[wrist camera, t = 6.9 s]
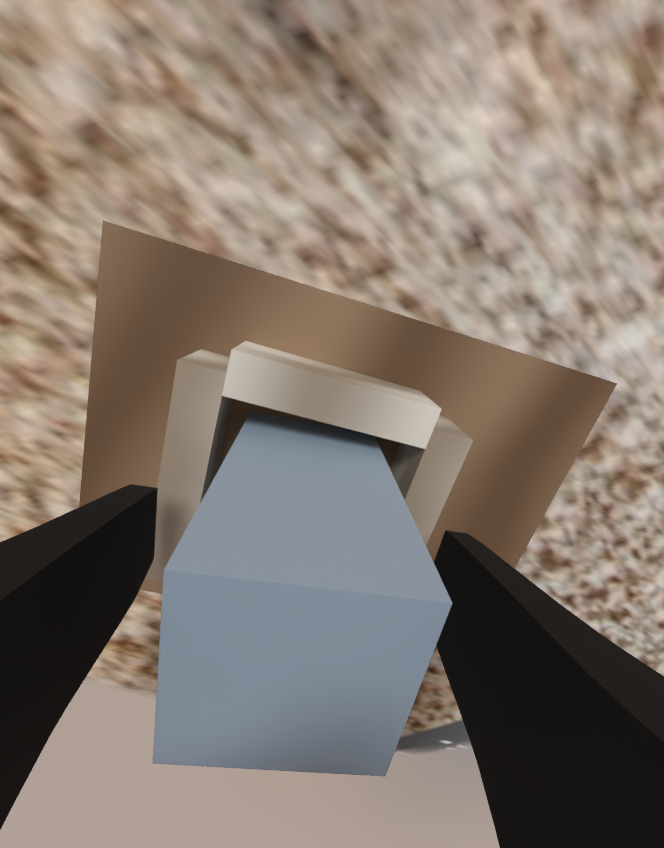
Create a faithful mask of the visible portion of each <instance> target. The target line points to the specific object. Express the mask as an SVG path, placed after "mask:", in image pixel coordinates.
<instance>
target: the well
mask: <svg viewBox="0 0 664 848" xmlns="http://www.w3.org/2000/svg"><path fill="white" fill-rule="evenodd" d="M616 385H617V383H614V382H611V381H607V380H604V379H601V378H598V377H595V376H592V375H588V374H585V373H582V372H579V371H576V370H573V369H570V368H566V367H563V366H560V365H557V364H554V363H551V362H547V361H544V360H541V359H538V358H535V357H532V356H529V355H525V354H522V353H519V352H516V351H513V350H510V349H506V348H503V347H500V346H497V345H494V344H491V343H488V342H484V341H481V340H478V339H475V338H472V337H469V336H465V335H462V334H459V333H456V332H453V331H450V330H447V329H443V328H440V327H437V326H434V325H431V324H428V323H424V322H421V321H418V320H415V319H412V318H409V317H406V316H402V315H399V314H396V313H393V312H390V311H387V310H383V309H380V308H377V307H374V306H371V305H368V304H365V303H361V302H358V301H355V300H352V299H349V298H346V297H342V296H339V295H336V294H333V293H330V292H327V291H324V290H320V289H317V288H314V287H311V286H308V285H305V284H301V283H298V282H295V281H292V280H289V279H286V278H283V277H279V276H276V275H273V274H270V273H267V272H264V271H260V270H257V269H254V268H251V267H248V266H245V265H242V264H238V263H235V262H232V261H229V260H226V259H223V258H219V257H216V256H213V255H210V254H207V253H204V252H201V251H197V250H194V249H191V248H188V247H185V246H182V245H179V244H175V243H172V242H169V241H166V240H163V239H160V238H156V237H153V236H150V235H147V234H144V233H141V232H138V231H134V230H131V229H128V228H125V227H122V226H119V225H115V224H112V223H109V222H106V221H103V227H102V239H101V251H100V263H99V275H98V287H97V299H96V311H95V323H94V335H93V347H92V359H91V371H90V383H89V396H88V408H87V420H86V432H85V444H84V456H83V468H82V480H81V492H80V504H79V507H81V506H83V505H85V504H88V503H90V502H92V501H94V500H96V499H98V498H100V497H102V496H105V495H107V494H109V493H111V492H113V491H116V490H118V489H120V488H122V487H125V486H127V485H130V484H134V485H140V486H147V487H154V488H158V493H157V512H156V532H155V551H154V560H153V562H152V564H151V566H150V568H149V571H148V573H147V575H146V577H145V579H144V581H143V583H142V585H141V587H140V590H146V591H151V592H157V593H162V594H163V577H164V569H165V567H166V565H167V563H168V561H169V560H170V558H171V556H172V554H173V552H174V550H175V549H176V547H177V545H178V543H179V541H180V540H181V538H182V536H183V534H184V532H185V530H186V529H187V527H188V525H189V523H190V521H191V520H192V518H193V516H194V514H195V512H196V510H197V509H198V507H199V505H200V503H201V501H202V499H203V498H204V496H205V494H206V492H207V490H208V489H209V487H210V485H211V483H212V481H213V479H214V478H215V476H216V474H217V472H218V470H219V468H220V467H221V465H222V463H223V461H224V459H225V458H226V456H227V454H228V452H229V450H230V448H231V447H232V445H233V443H234V441H235V439H236V438H237V436H238V434H239V432H240V430H241V428H242V427H243V425H244V423H245V421H246V419H247V417H248V416H249V414H250V412H256V413H262V414H268V415H274V416H280V417H286V418H292V419H298V420H304V421H309V422H315V423H321V424H327V425H333V426H339V427H343V428H347V429H351V430H354V431H358V432H362V433H366V434H370V435H373V436H375V438H376V440H377V442H378V444H379V446H380V449H381V451H382V453H383V455H384V457H385V459H386V461H387V464H388V466H389V468H390V470H391V472H392V474H393V476H394V479H395V481H396V483H397V485H398V487H399V489H400V492H401V494H402V496H403V498H404V500H405V502H406V504H407V507H408V509H409V511H410V513H411V515H412V517H413V519H414V522H415V524H416V526H417V528H418V530H419V532H420V534H421V537H422V539H423V541H424V543H425V545H426V547H427V549H428V552H429V554H430V556H431V558H432V560H433V562H434V560H435V558H436V555H437V552H438V549H439V546H440V544H441V541H442V538H443V535H444V532H445V530H448V531H454V532H461V533H468V534H469V535H471V536H472V537H474V538H475V539H477V540H478V541H480V542H481V543H482V544H484V545H485V546H486V547H488V548H489V549H490V550H491V551H493V552H494V553H495V554H497V555H498V556H499V557H500V558H502V559H503V560H504V561H505V562H507V563H508V564H509V565H511V566H512V567H513V568H515V566H516V565H517V563H518V561H519V559H520V557H521V556H522V554H523V552H524V550H525V548H526V547H527V545H528V543H529V541H530V539H531V538H532V536H533V534H534V532H535V530H536V529H537V527H538V525H539V523H540V521H541V520H542V518H543V516H544V514H545V512H546V511H547V509H548V507H549V505H550V503H551V502H552V500H553V498H554V496H555V494H556V493H557V491H558V489H559V487H560V485H561V484H562V482H563V480H564V478H565V476H566V475H567V473H568V471H569V469H570V467H571V466H572V464H573V462H574V460H575V458H576V457H577V455H578V453H579V451H580V449H581V448H582V446H583V444H584V442H585V440H586V439H587V437H588V435H589V433H590V431H591V430H592V428H593V426H594V424H595V422H596V421H597V419H598V417H599V415H600V413H601V412H602V410H603V408H604V406H605V404H606V403H607V401H608V399H609V397H610V395H611V394H612V392H613V390H614V388H615V386H616Z"/></svg>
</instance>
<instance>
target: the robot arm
mask: <svg viewBox="0 0 664 848" xmlns="http://www.w3.org/2000/svg"><path fill="white" fill-rule="evenodd" d="M157 493H158V488H154V487H147V486H140V485H134V484H130V485H127V486H125V487H122V488H120V489H118V490H116V491H113V492H111V493H109V494H107V495H105V496H102V497H100V498H98V499H96V500H94V501H92V502H90V503H88V504H85V505H83V506H81V507H79V508H77V509H75V510H73V511H70V512H68V513H66V514H64V515H62V516H60V517H57V518H55V519H53V520H51V521H49V522H47V523H44V524H42V525H40V526H38V527H35V528H33V529H31V530H28V531H26V532H24V533H21V534H19V535H17V536H14V537H12V538H10V539H7V540H5V541H2V542H0V829H1V827H2V825H3V823H4V821H5V819H6V817H7V816H8V814H9V812H10V810H11V808H12V806H13V804H14V802H15V800H16V798H17V796H18V795H19V793H20V791H21V789H22V787H23V785H24V783H25V781H26V779H27V778H28V776H29V774H30V772H31V770H32V768H33V766H34V764H35V763H36V761H37V759H38V757H39V755H40V753H41V751H42V749H43V747H44V746H45V744H46V742H47V740H48V738H49V736H50V735H51V733H52V731H53V729H54V728H55V726H56V724H57V723H58V721H59V719H60V718H61V716H62V714H63V712H64V710H65V709H66V707H67V706H68V704H69V703H70V701H71V699H72V698H73V696H74V695H75V693H76V692H77V690H78V688H79V687H80V685H81V684H82V682H83V681H84V679H85V677H86V676H87V674H88V673H89V671H90V670H91V668H92V666H93V665H94V663H95V662H96V660H97V658H98V657H99V655H100V654H101V652H102V651H103V649H104V647H105V646H106V644H107V643H108V641H109V640H110V638H111V636H112V635H113V633H114V632H115V630H116V629H117V627H118V625H119V624H120V622H121V621H122V619H123V617H124V616H125V614H126V613H127V611H128V609H129V608H130V606H131V604H132V603H133V601H134V600H135V598H136V596H137V594H138V591H139V589H140V587H141V585H142V583H143V581H144V579H145V577H146V575H147V573H148V571H149V568H150V566H151V564H152V562H153V560H154V551H155V532H156V512H157ZM434 564H435V567H436V569H437V571H438V573H439V575H440V577H441V580H442V582H443V584H444V586H445V588H446V590H447V592H448V595H449V597H450V599H451V601H452V606H451V608H450V611H449V613H448V616H447V619H446V621H445V624H444V626H443V629H442V631H441V634H440V637H439V639H438V642H437V644H436V646H437V649H438V652H439V654H440V657H441V660H442V663H443V666H444V669H445V671H446V674H447V677H448V680H449V683H450V685H451V688H452V691H453V694H454V696H455V699H456V702H457V705H458V708H459V710H460V713H461V716H462V719H463V722H464V724H465V727H466V730H467V733H468V735H469V738H470V741H471V745H472V748H473V751H474V754H475V757H476V760H477V763H478V766H479V770H480V774H481V778H482V781H483V785H484V789H485V792H486V796H487V800H488V804H489V807H490V811H491V815H492V818H493V822H494V825H495V830H496V833H497V838H498V842H499V846H500V848H664V676H662V675H661V674H659V673H658V672H656V671H655V670H653V669H652V668H650V667H649V666H647V665H646V664H644V663H642V662H641V661H639V660H638V659H636V658H635V657H633V656H632V655H630V654H629V653H627V652H626V651H624V650H623V649H621V648H620V647H618V646H617V645H615V644H614V643H613V642H611V641H610V640H608V639H607V638H605V637H604V636H603V635H601V634H600V633H598V632H597V631H596V630H594V629H593V628H591V627H590V626H589V625H587V624H586V623H585V622H583V621H582V620H581V619H579V618H578V617H576V616H575V615H574V614H572V613H571V612H570V611H568V610H567V609H566V608H564V607H563V606H562V605H560V604H559V603H558V602H556V601H555V600H554V599H552V598H551V597H550V596H549V595H547V594H546V593H545V592H543V591H542V590H541V589H540V588H538V587H537V586H536V585H535V584H533V583H532V582H531V581H529V580H528V579H527V578H526V577H524V576H523V575H522V574H521V573H519V572H518V571H517V570H516V569H514V568H513V567H512V566H511V565H509V564H508V563H507V562H505V561H504V560H503V559H502V558H500V557H499V556H498V555H497V554H495V553H494V552H493V551H491V550H490V549H489V548H488V547H486V546H485V545H484V544H482V543H481V542H480V541H478V540H477V539H475V538H474V537H472V536H471V535H469V534H468V533H461V532H454V531H448V530H445V532H444V535H443V538H442V541H441V544H440V546H439V549H438V552H437V555H436V558H435V560H434Z"/></svg>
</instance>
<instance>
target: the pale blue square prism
mask: <svg viewBox="0 0 664 848" xmlns="http://www.w3.org/2000/svg"><path fill="white" fill-rule="evenodd" d="M451 606H452V601H451V599H450V597H449V595H448V592H447V590H446V588H445V586H444V584H443V582H442V580H441V577H440V575H439V573H438V571H437V569H436V567H435V564H434V562H433V560H432V558H431V556H430V554H429V552H428V549H427V547H426V545H425V543H424V541H423V539H422V537H421V534H420V532H419V530H418V528H417V526H416V524H415V522H414V519H413V517H412V515H411V513H410V511H409V509H408V507H407V504H406V502H405V500H404V498H403V496H402V494H401V492H400V489H399V487H398V485H397V483H396V481H395V479H394V476H393V474H392V472H391V470H390V468H389V466H388V464H387V461H386V459H385V457H384V455H383V453H382V451H381V449H380V446H379V444H378V442H377V440H376V438H375V436H373V435H370V434H366V433H362V432H358V431H354V430H351V429H347V428H343V427H339V426H333V425H327V424H321V423H315V422H309V421H304V420H298V419H292V418H286V417H280V416H274V415H268V414H262V413H256V412H250V414H249V416H248V417H247V419H246V421H245V423H244V425H243V427H242V428H241V430H240V432H239V434H238V436H237V438H236V439H235V441H234V443H233V445H232V447H231V448H230V450H229V452H228V454H227V456H226V458H225V459H224V461H223V463H222V465H221V467H220V468H219V470H218V472H217V474H216V476H215V478H214V479H213V481H212V483H211V485H210V487H209V489H208V490H207V492H206V494H205V496H204V498H203V499H202V501H201V503H200V505H199V507H198V509H197V510H196V512H195V514H194V516H193V518H192V520H191V521H190V523H189V525H188V527H187V529H186V530H185V532H184V534H183V536H182V538H181V540H180V541H179V543H178V545H177V547H176V549H175V550H174V552H173V554H172V556H171V558H170V560H169V561H168V563H167V565H166V567H165V569H164V577H163V594H162V611H161V629H160V646H159V663H158V680H157V698H156V715H155V734H154V749H153V763H155V764H172V765H189V766H207V767H225V768H226V767H227V768H244V769H262V770H280V771H298V772H316V773H335V774H353V775H371V776H385V775H386V773H387V770H388V768H389V765H390V762H391V760H392V757H393V755H394V752H395V750H396V747H397V745H398V742H399V739H400V737H401V734H402V732H403V729H404V727H405V724H406V721H407V719H408V716H409V714H410V711H411V709H412V706H413V703H414V701H415V698H416V696H417V693H418V691H419V688H420V685H421V683H422V680H423V678H424V675H425V673H426V670H427V667H428V665H429V662H430V660H431V657H432V655H433V652H434V649H435V647H436V644H437V642H438V639H439V637H440V634H441V631H442V629H443V626H444V624H445V621H446V619H447V616H448V613H449V611H450V608H451Z"/></svg>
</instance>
